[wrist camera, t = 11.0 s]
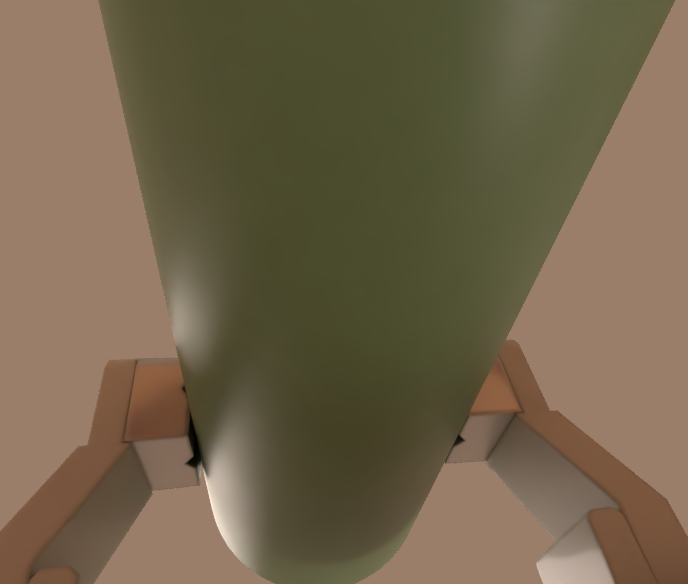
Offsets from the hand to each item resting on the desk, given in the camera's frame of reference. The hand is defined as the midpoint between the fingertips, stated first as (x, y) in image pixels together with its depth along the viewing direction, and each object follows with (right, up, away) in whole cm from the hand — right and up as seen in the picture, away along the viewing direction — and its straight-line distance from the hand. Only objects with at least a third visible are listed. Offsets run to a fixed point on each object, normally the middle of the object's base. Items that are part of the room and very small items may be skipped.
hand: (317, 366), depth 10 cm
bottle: (+1, +6, -7) cm, 9 cm away
